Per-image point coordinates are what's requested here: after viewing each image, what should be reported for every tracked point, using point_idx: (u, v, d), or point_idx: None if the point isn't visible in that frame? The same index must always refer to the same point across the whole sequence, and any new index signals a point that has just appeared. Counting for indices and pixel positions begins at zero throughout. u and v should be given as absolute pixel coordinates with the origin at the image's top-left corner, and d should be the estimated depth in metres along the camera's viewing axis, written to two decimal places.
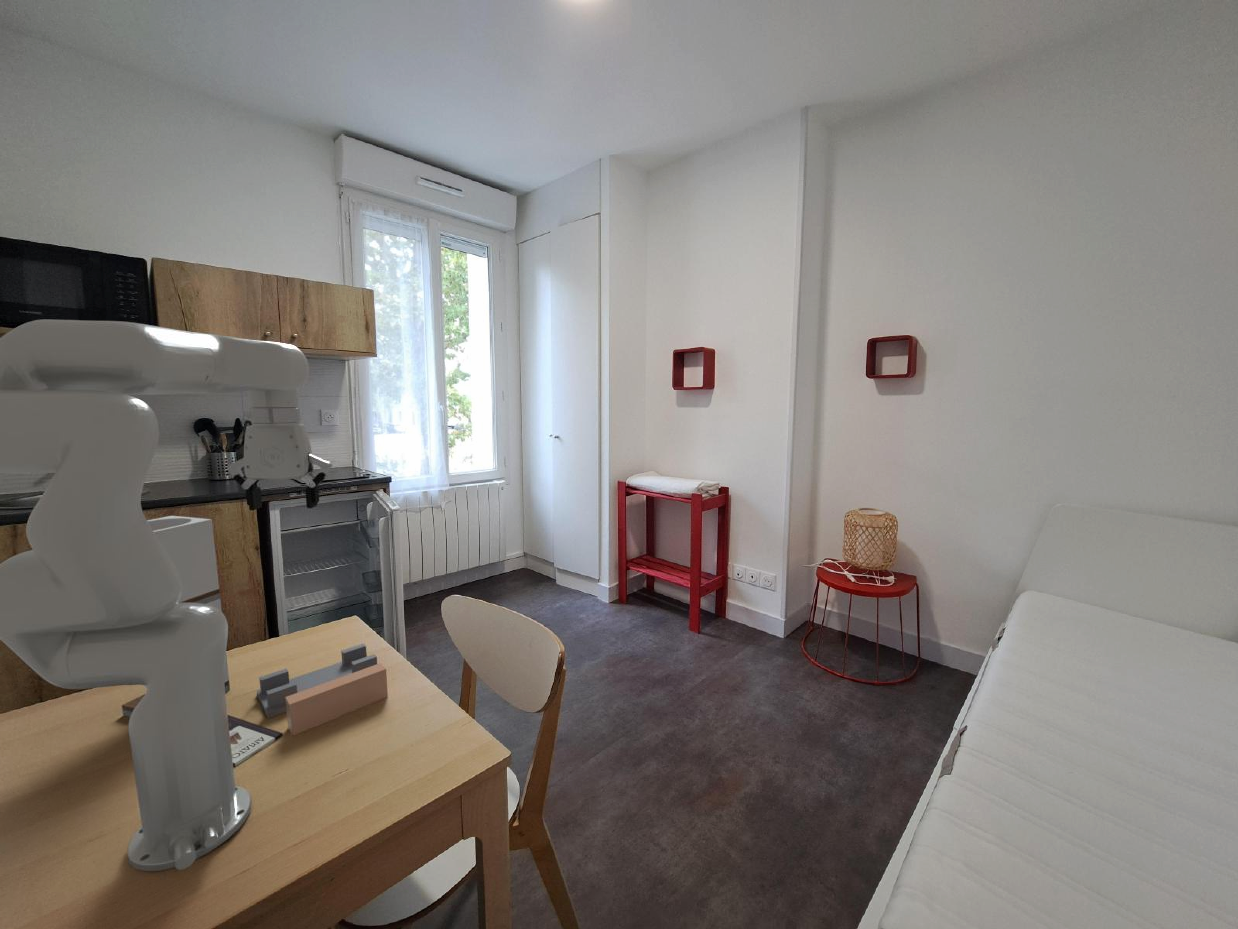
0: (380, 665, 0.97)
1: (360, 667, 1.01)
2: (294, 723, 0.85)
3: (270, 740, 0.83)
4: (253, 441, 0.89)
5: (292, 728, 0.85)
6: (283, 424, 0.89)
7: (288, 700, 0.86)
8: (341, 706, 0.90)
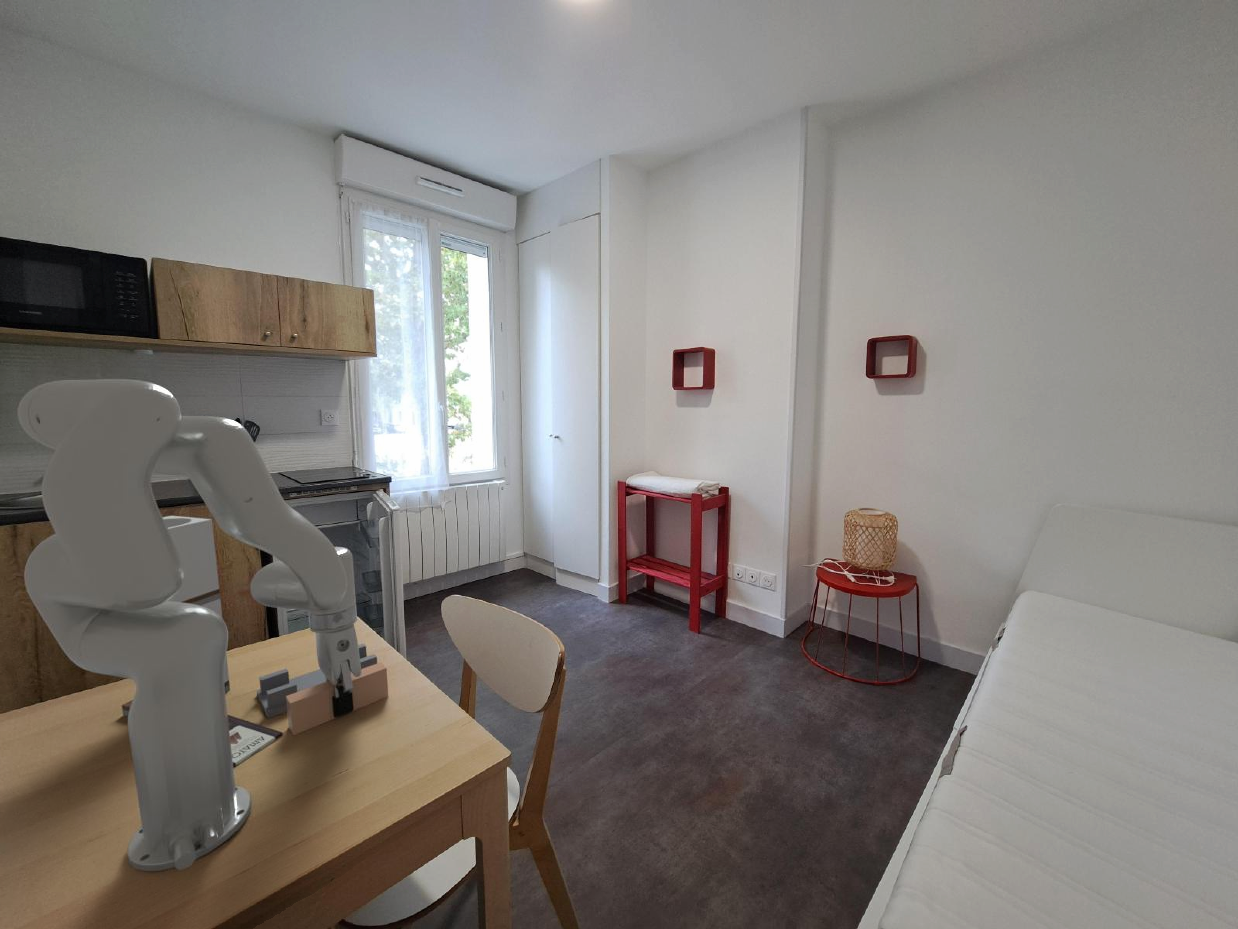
0: (380, 664, 0.97)
1: None
2: (295, 722, 0.85)
3: (270, 739, 0.83)
4: None
5: (293, 727, 0.85)
6: None
7: (289, 699, 0.86)
8: None
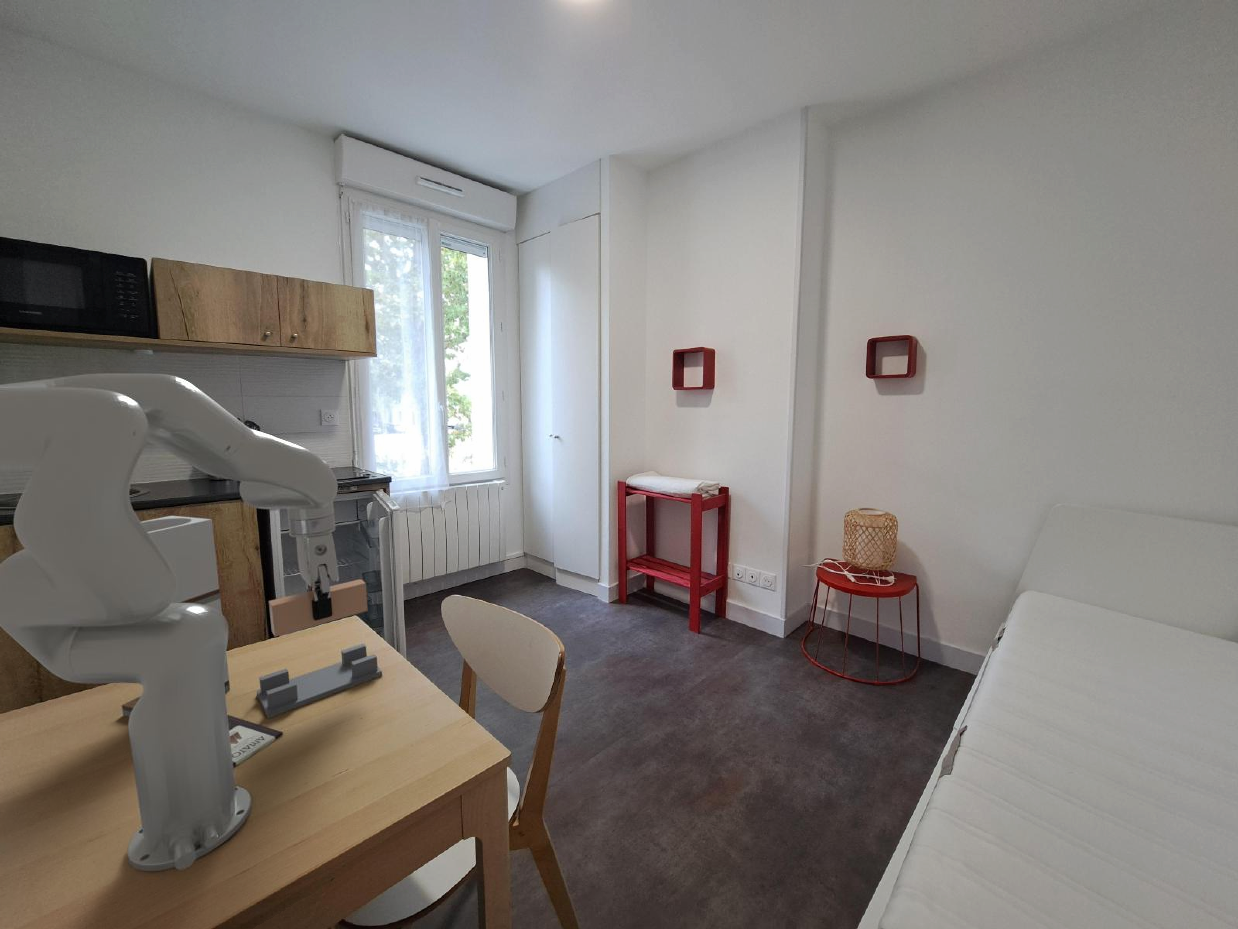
0: (360, 580, 1.02)
1: (360, 667, 1.01)
2: (276, 624, 0.91)
3: (270, 739, 0.84)
4: None
5: (274, 629, 0.91)
6: None
7: (271, 603, 0.91)
8: None
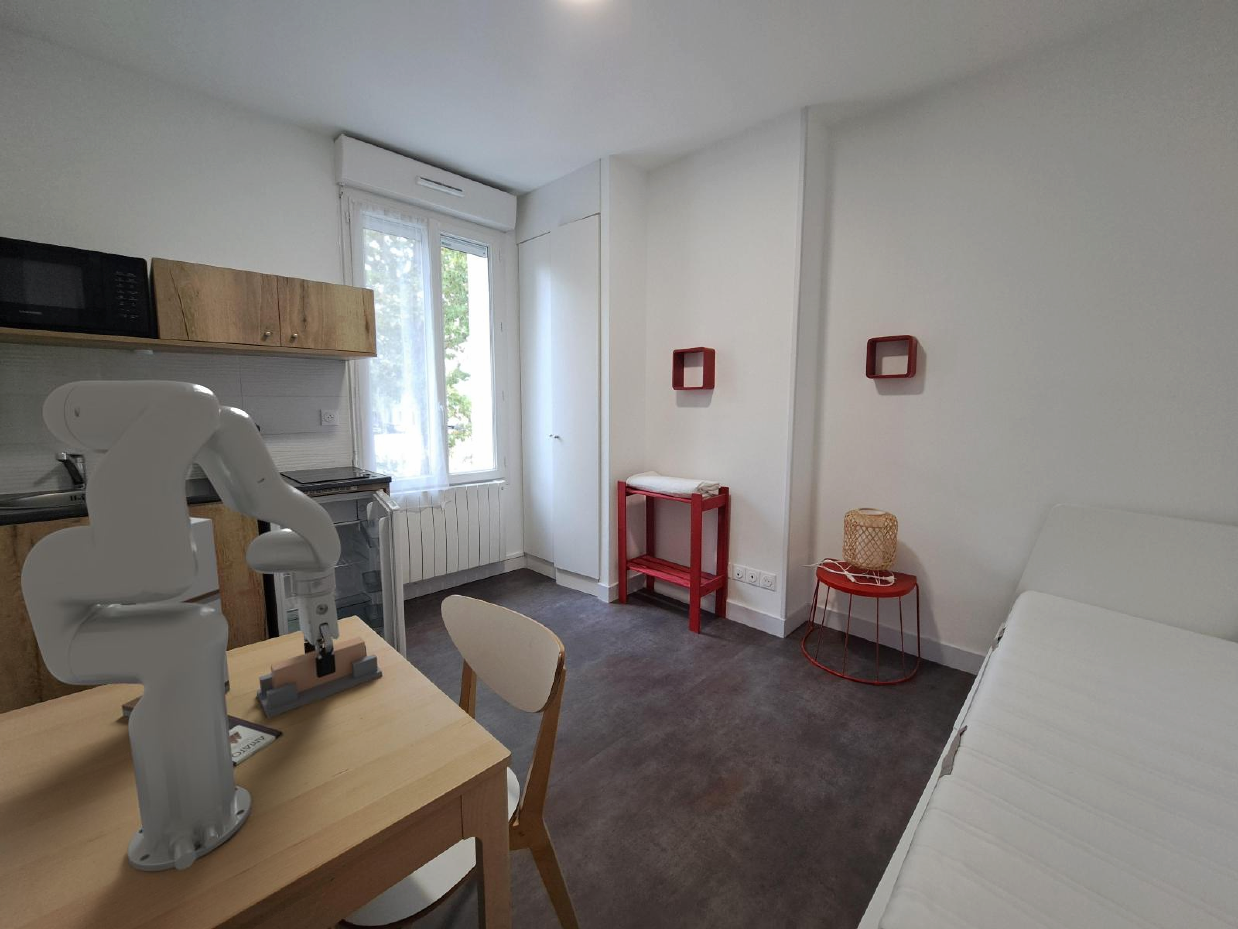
0: (359, 638, 1.05)
1: (360, 667, 1.01)
2: None
3: (270, 739, 0.84)
4: None
5: None
6: None
7: (273, 667, 0.94)
8: None
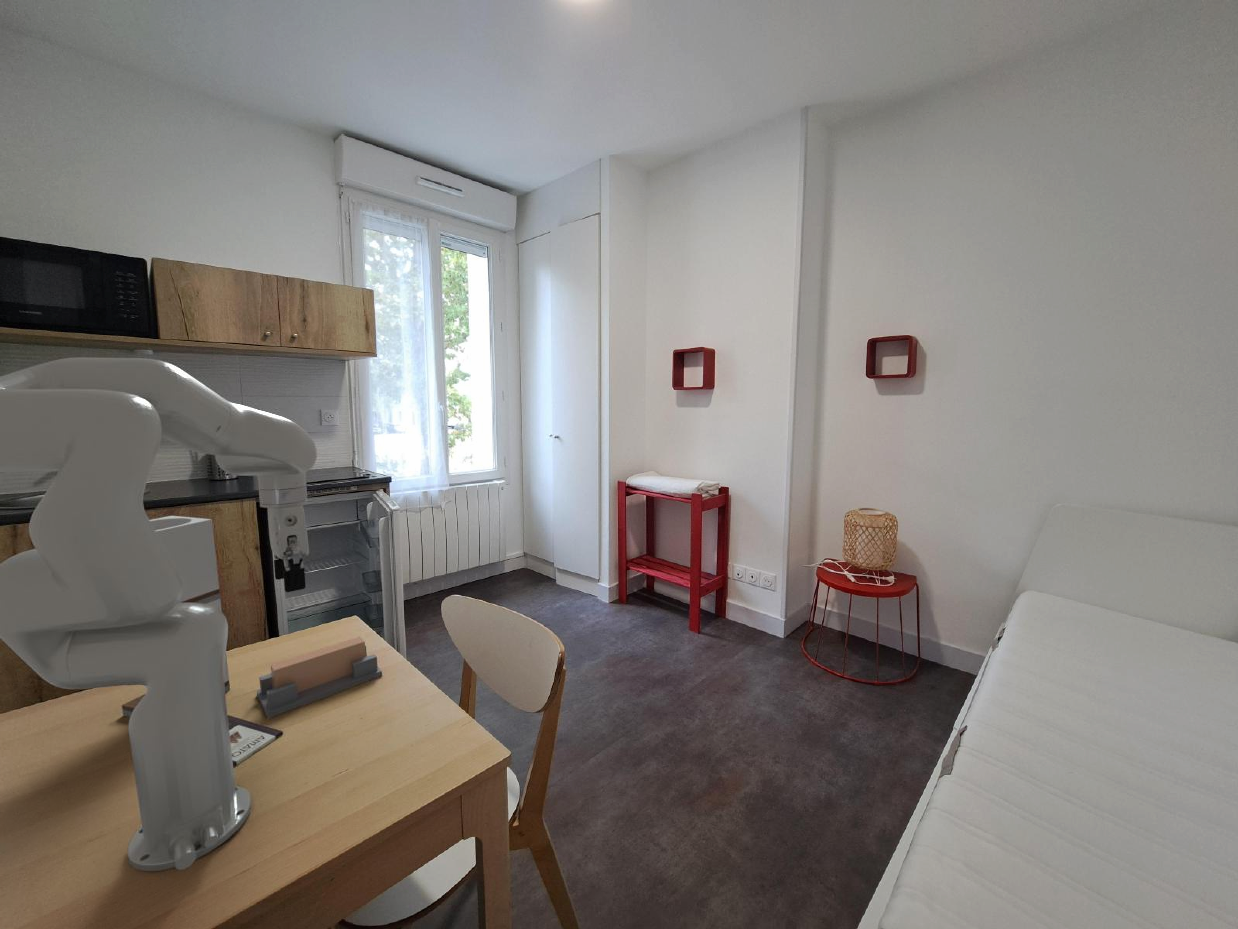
0: (359, 638, 1.05)
1: (360, 667, 1.01)
2: None
3: (271, 738, 0.84)
4: None
5: None
6: None
7: (273, 667, 0.94)
8: (322, 674, 0.99)
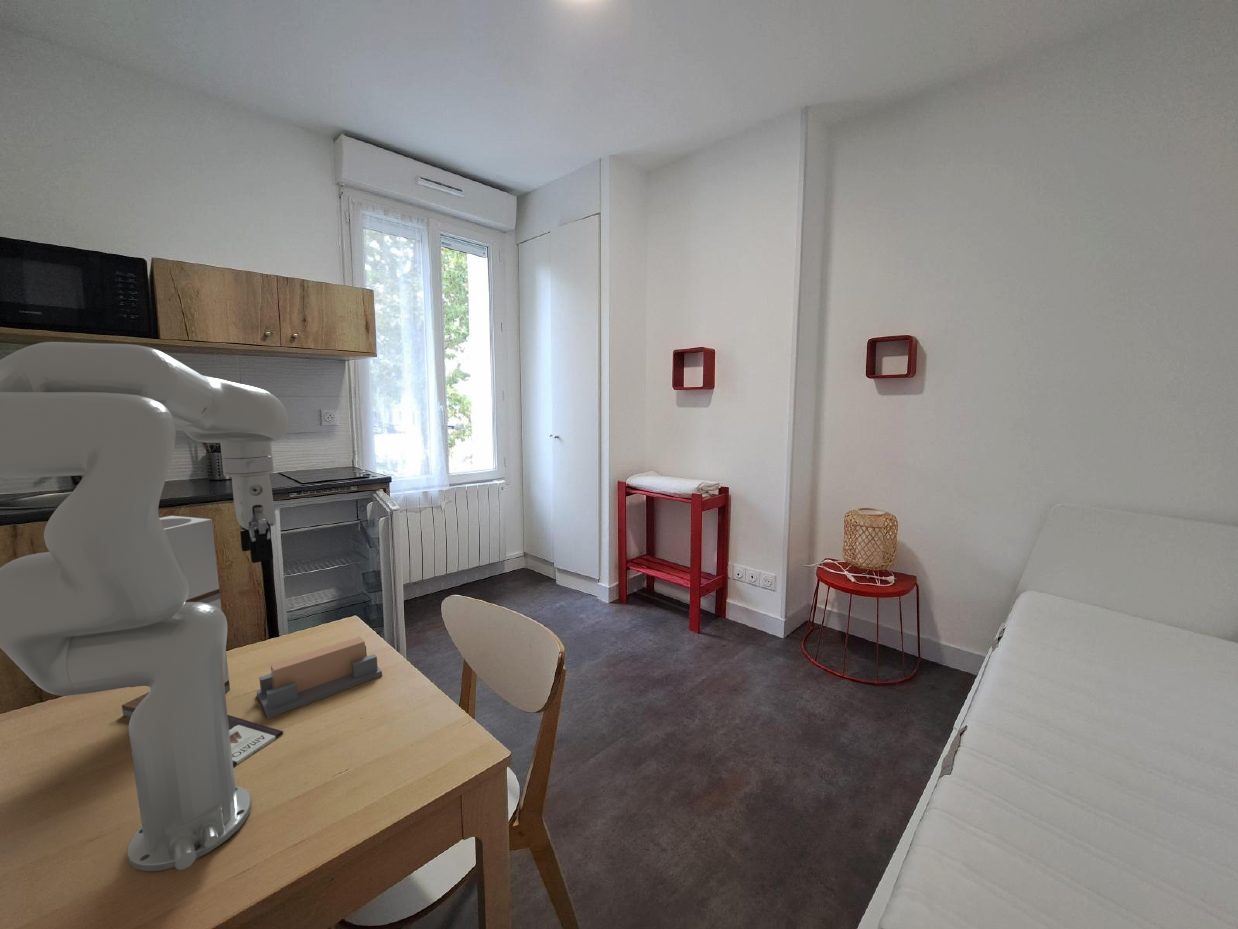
0: (359, 638, 1.05)
1: (360, 667, 1.01)
2: None
3: (271, 738, 0.84)
4: None
5: None
6: None
7: (273, 667, 0.94)
8: (322, 674, 0.99)
